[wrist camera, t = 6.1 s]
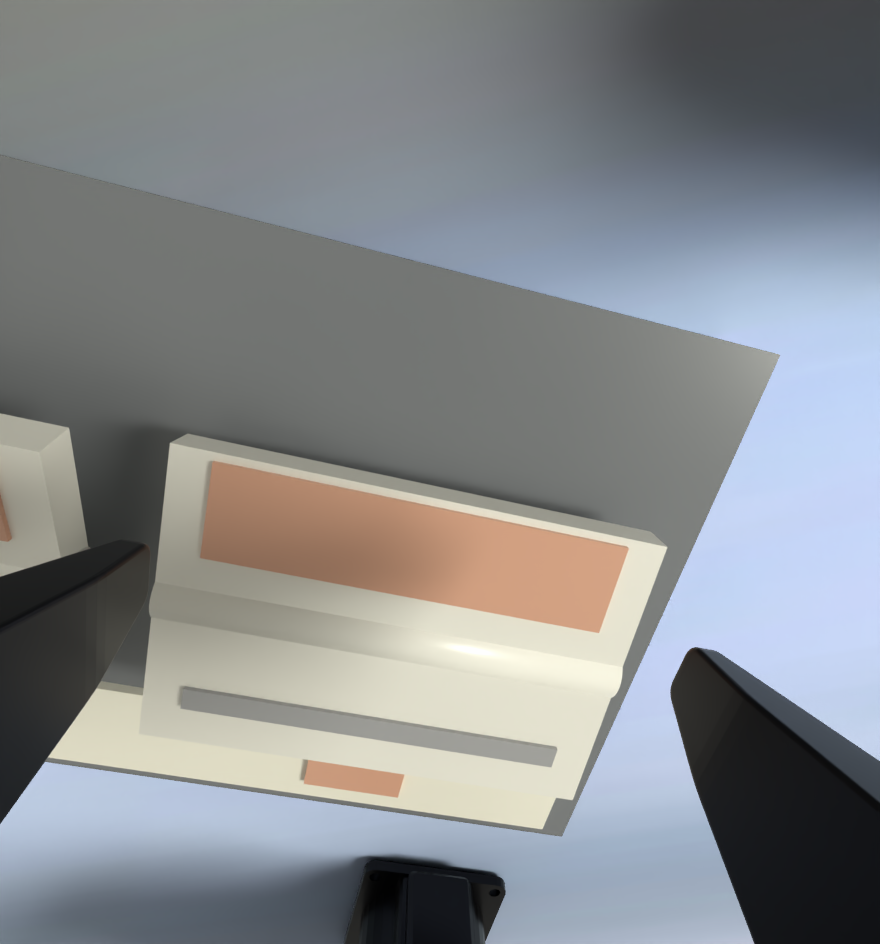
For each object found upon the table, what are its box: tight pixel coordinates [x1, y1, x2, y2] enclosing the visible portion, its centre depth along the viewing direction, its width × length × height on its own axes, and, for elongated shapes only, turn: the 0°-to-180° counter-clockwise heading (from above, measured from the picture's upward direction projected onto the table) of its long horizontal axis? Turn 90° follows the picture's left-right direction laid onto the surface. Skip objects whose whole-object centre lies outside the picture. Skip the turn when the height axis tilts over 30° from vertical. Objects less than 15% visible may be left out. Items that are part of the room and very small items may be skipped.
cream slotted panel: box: [139, 434, 667, 800], centre depth 14 cm, size 8×12×1 cm, turn 76°
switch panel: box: [0, 155, 780, 836], centre depth 17 cm, size 18×30×4 cm, turn 76°
